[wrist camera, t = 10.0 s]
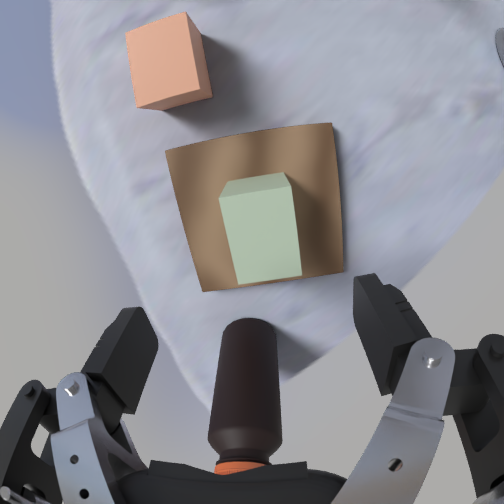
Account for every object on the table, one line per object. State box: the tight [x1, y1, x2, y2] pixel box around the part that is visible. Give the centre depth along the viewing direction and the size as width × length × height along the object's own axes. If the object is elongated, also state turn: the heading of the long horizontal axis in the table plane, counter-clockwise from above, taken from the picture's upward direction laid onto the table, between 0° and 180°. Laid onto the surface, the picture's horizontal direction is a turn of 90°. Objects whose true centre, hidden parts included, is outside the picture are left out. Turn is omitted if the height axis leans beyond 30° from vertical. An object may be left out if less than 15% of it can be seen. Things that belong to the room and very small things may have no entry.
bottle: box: [208, 318, 282, 475], centre depth 25 cm, size 7×7×20 cm
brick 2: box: [219, 172, 302, 285], centre depth 23 cm, size 5×7×6 cm
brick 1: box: [125, 12, 213, 111], centre depth 18 cm, size 5×7×6 cm
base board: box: [165, 123, 343, 292], centre depth 26 cm, size 15×15×2 cm
